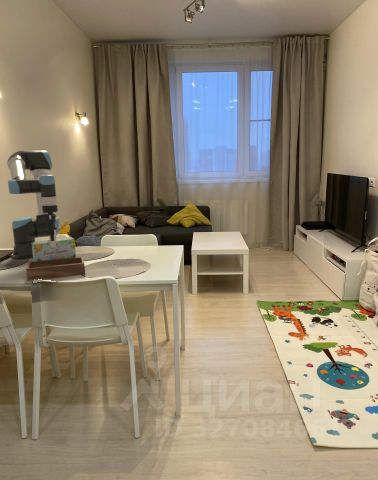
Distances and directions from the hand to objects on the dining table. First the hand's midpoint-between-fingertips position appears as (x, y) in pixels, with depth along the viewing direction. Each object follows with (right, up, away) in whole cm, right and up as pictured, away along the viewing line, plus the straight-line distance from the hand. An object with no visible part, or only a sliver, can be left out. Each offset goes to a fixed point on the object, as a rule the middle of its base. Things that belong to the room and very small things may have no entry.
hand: (53, 244), depth 196 cm
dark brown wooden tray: (+5, -15, -9) cm, 18 cm away
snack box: (0, -13, +3) cm, 13 cm away
